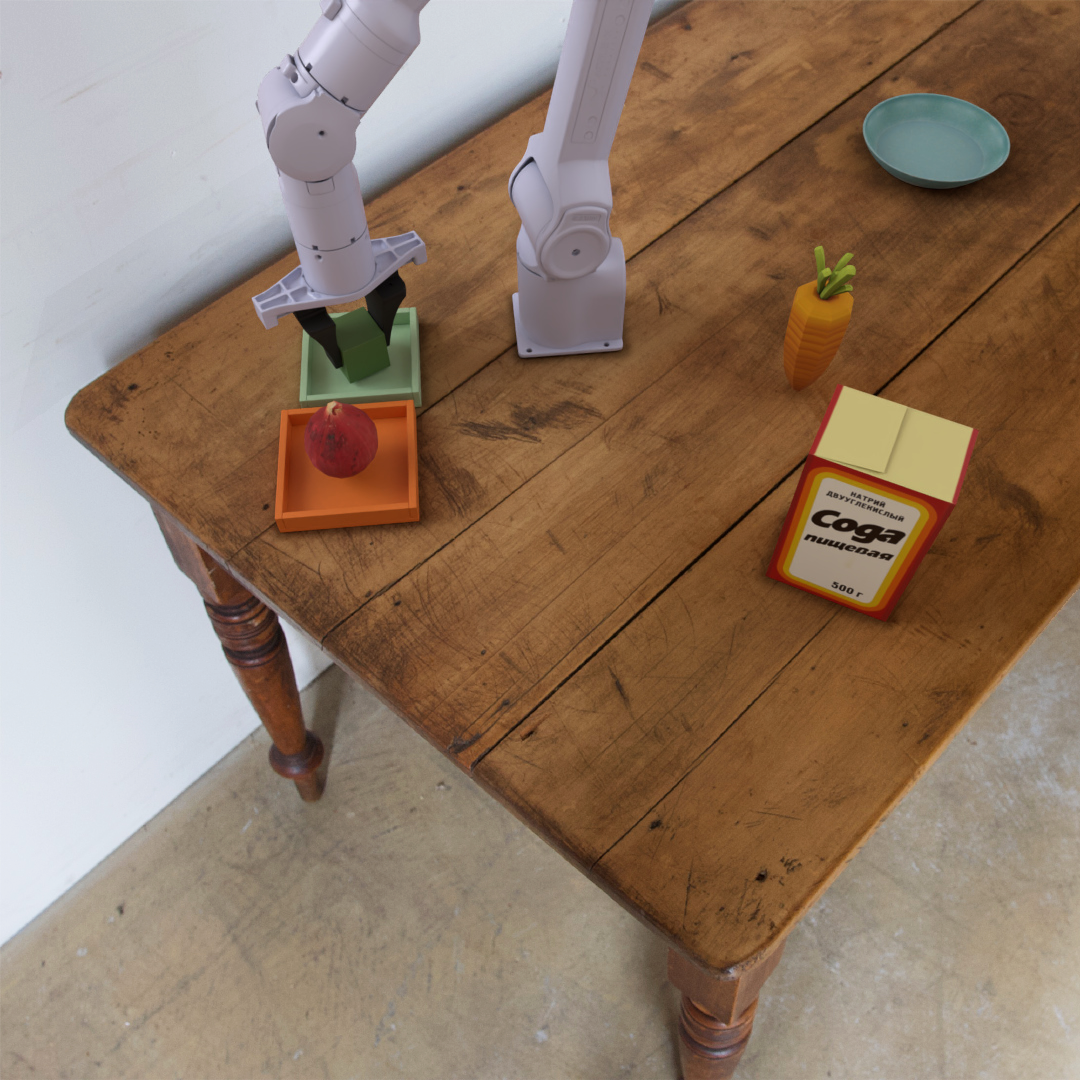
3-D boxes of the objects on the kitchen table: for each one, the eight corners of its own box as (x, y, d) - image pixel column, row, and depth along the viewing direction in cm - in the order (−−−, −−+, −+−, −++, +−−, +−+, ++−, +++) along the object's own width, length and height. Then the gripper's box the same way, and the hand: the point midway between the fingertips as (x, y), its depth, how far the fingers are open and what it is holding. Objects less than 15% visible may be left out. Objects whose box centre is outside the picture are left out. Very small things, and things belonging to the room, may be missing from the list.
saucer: (1019, 142, 105) (1029, 120, 103) (972, 222, 99) (982, 200, 96) (888, 98, 110) (895, 76, 107) (834, 171, 103) (840, 149, 101)
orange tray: (416, 414, 86) (413, 399, 85) (419, 521, 80) (416, 507, 79) (286, 424, 86) (281, 409, 84) (280, 533, 80) (274, 519, 78)
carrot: (762, 370, 89) (797, 237, 76) (817, 366, 89) (861, 232, 76) (774, 413, 86) (812, 282, 73) (831, 409, 86) (879, 278, 73)
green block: (370, 338, 90) (363, 305, 87) (391, 365, 88) (384, 333, 85) (330, 355, 89) (322, 323, 86) (350, 384, 87) (342, 352, 84)
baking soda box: (907, 555, 78) (981, 426, 65) (885, 622, 75) (958, 501, 61) (791, 512, 80) (839, 379, 67) (765, 576, 77) (809, 449, 64)
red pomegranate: (372, 502, 81) (356, 441, 74) (305, 491, 81) (282, 429, 75) (392, 446, 84) (378, 383, 77) (327, 436, 84) (307, 372, 78)
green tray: (418, 322, 92) (416, 306, 91) (421, 406, 87) (418, 391, 85) (308, 330, 92) (303, 315, 90) (304, 416, 86) (299, 401, 85)
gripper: (389, 164, 80) (410, 291, 91) (220, 230, 76) (264, 354, 87) (432, 214, 76) (447, 338, 88) (257, 285, 72) (297, 406, 84)
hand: (358, 350), depth 87 cm, fingers closed on green block, 4 cm apart
